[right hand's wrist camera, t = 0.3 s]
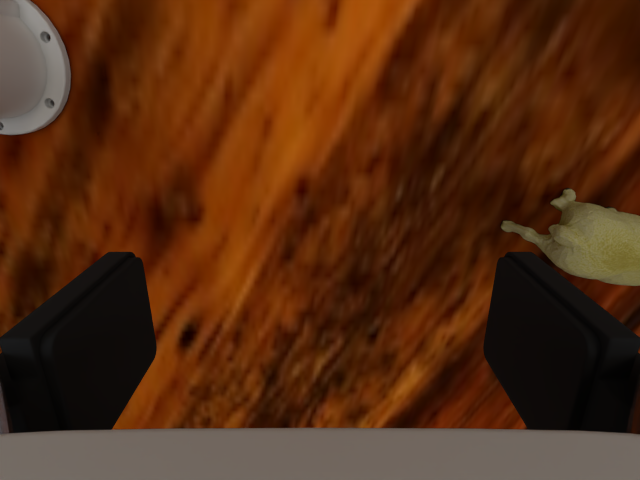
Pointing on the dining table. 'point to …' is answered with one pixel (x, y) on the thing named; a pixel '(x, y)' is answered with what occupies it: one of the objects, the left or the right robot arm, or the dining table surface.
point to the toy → (590, 241)
